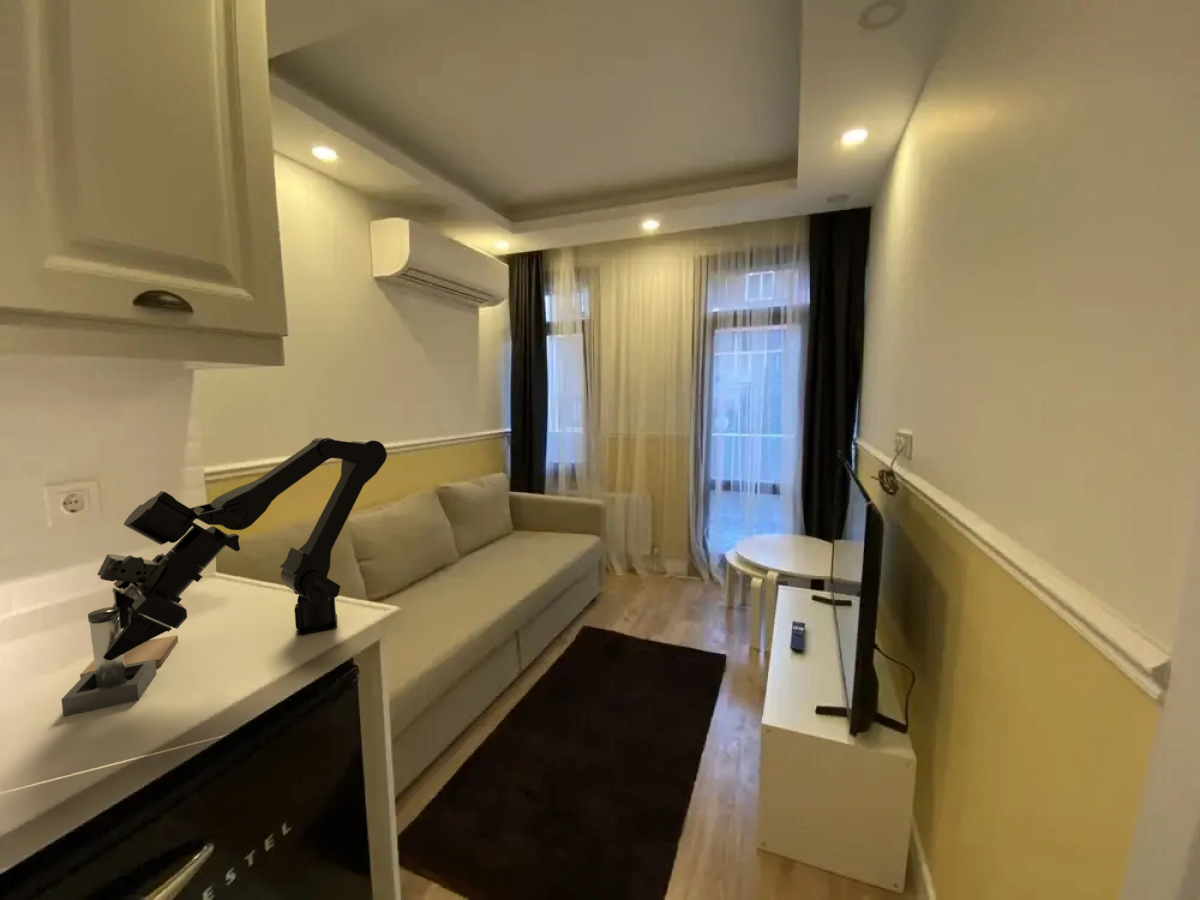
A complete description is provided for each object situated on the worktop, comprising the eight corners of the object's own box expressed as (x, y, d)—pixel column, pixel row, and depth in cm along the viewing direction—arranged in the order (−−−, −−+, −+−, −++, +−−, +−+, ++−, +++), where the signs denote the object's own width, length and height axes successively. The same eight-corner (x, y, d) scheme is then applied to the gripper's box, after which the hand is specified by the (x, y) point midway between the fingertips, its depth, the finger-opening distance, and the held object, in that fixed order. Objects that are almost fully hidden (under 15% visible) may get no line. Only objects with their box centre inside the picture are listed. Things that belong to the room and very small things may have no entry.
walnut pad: (178, 641, 94) (177, 634, 94) (161, 665, 85) (160, 659, 85) (106, 654, 89) (105, 647, 89) (80, 681, 81) (80, 674, 81)
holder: (156, 673, 83) (155, 659, 82) (138, 699, 75) (137, 683, 75) (88, 687, 79) (87, 672, 79) (63, 716, 72) (61, 699, 71)
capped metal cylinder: (139, 681, 80) (130, 602, 79) (128, 697, 76) (118, 613, 75) (98, 689, 78) (89, 608, 77) (85, 706, 74) (74, 620, 73)
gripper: (126, 524, 84) (35, 610, 77) (151, 542, 73) (46, 646, 65) (189, 559, 91) (111, 640, 84) (222, 580, 79) (134, 678, 72)
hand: (101, 649), depth 76 cm, fingers open, 9 cm apart
